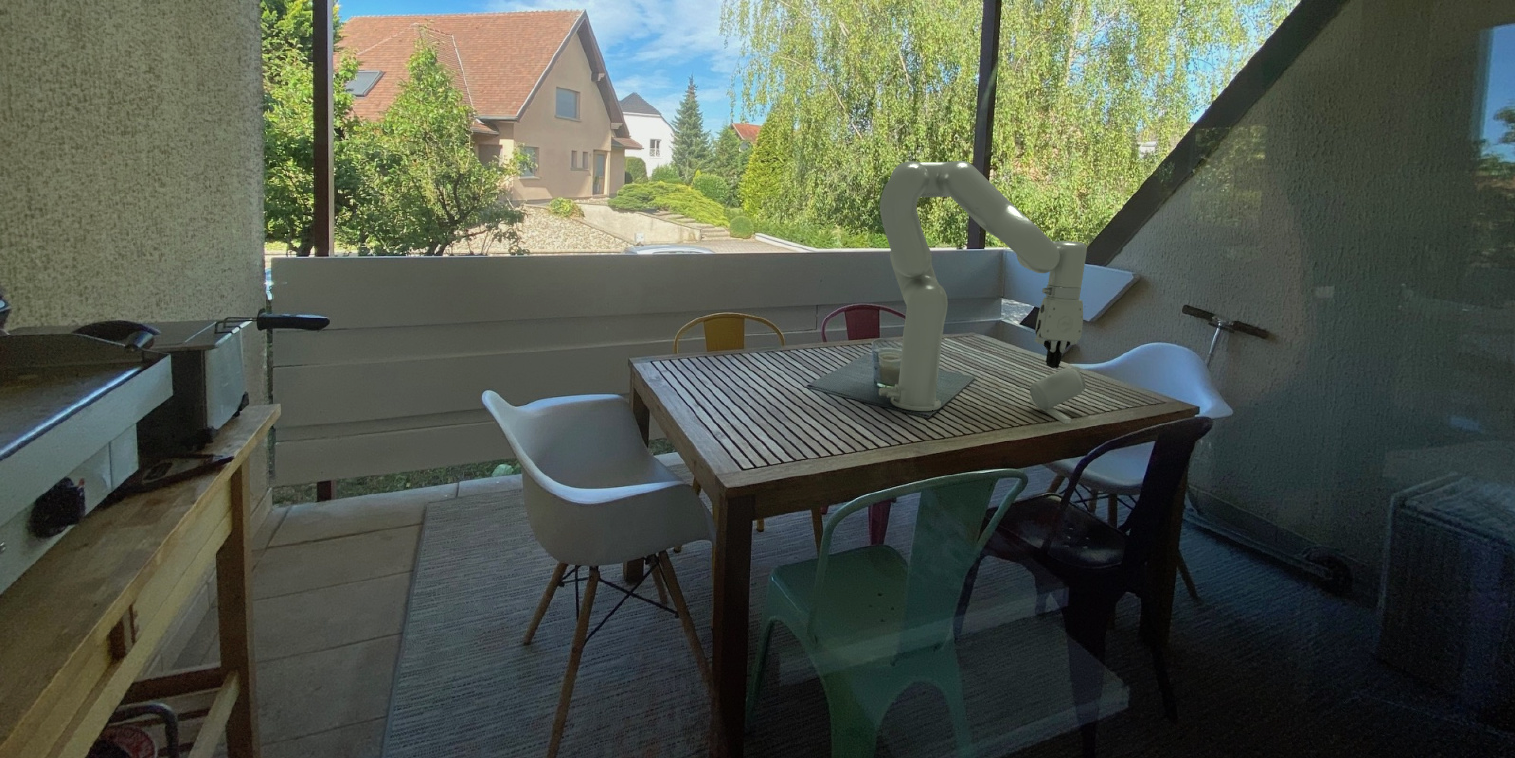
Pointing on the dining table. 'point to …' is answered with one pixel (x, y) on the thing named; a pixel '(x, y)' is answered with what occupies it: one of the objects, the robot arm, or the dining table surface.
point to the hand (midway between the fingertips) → (1052, 366)
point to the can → (1057, 388)
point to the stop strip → (1055, 414)
